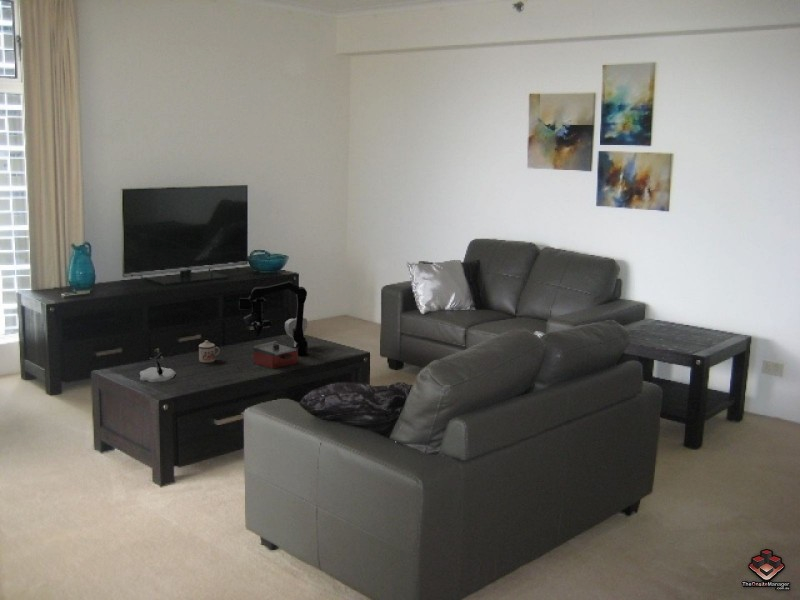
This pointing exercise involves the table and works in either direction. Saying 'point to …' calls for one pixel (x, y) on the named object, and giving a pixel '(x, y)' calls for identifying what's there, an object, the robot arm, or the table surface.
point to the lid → (275, 348)
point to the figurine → (157, 372)
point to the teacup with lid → (207, 352)
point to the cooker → (275, 358)
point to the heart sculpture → (291, 325)
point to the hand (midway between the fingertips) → (257, 335)
